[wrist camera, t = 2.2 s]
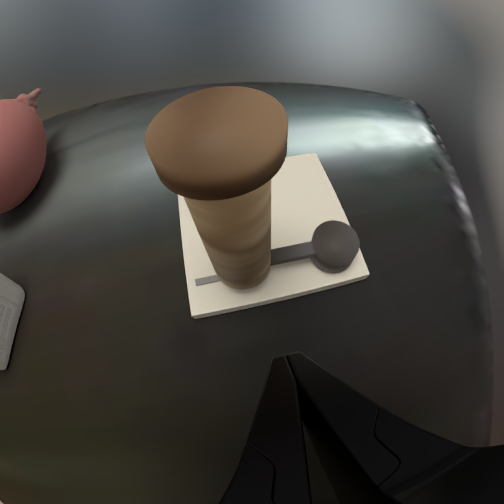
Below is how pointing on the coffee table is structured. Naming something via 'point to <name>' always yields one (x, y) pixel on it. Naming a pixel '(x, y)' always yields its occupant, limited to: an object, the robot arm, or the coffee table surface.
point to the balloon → (20, 149)
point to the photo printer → (8, 316)
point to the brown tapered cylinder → (236, 181)
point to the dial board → (273, 244)
